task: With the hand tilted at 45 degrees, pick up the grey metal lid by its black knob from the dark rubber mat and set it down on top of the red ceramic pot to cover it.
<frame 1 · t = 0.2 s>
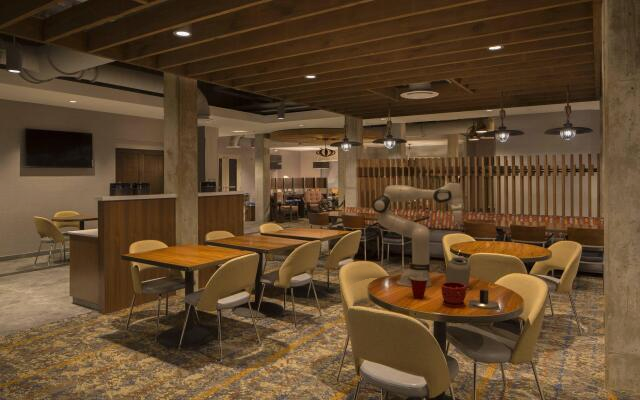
hand: (458, 227, 294), 39 cm above the table, tool pointing down, fingers open, 8 cm apart
lid: (483, 297, 253), on the mat
plant pot: (453, 306, 253), on the table
plastic cup: (418, 298, 270), on the table
mat: (483, 305, 253), on the table
jar: (458, 287, 294), on the table
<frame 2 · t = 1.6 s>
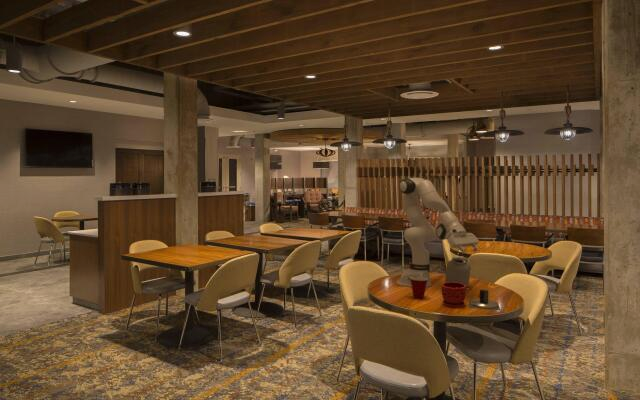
hand: (470, 251, 264), 28 cm above the table, tool tilted 45°, fingers open, 8 cm apart
nothing on the table moved.
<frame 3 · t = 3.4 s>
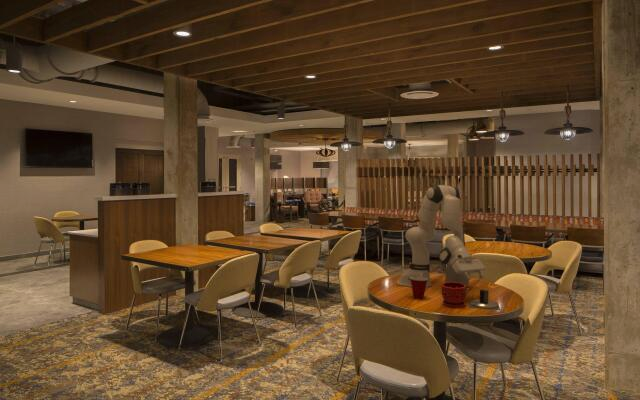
hand: (476, 278, 258), 14 cm above the table, tool tilted 45°, fingers open, 8 cm apart
nothing on the table moved.
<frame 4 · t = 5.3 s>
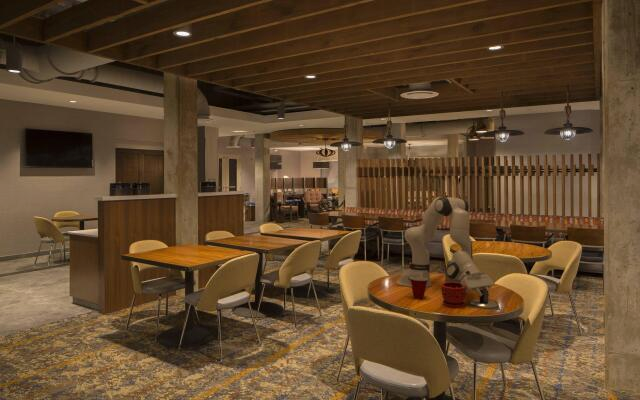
hand: (484, 295, 252), 6 cm above the table, tool tilted 45°, fingers closed on lid, 3 cm apart
lid: (483, 297, 253), on the mat, touching gripper
everything else where it was.
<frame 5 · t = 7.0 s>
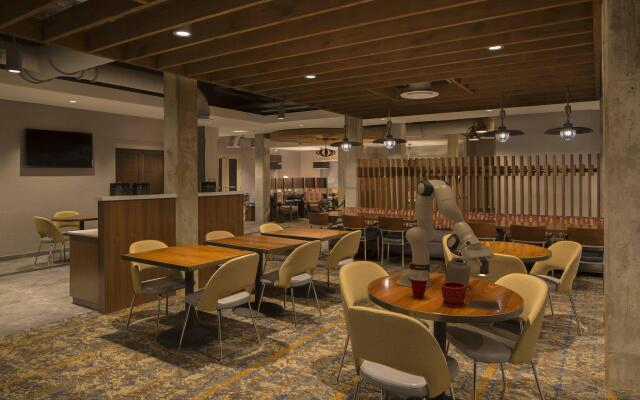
hand: (485, 265, 251), 23 cm above the table, tool tilted 45°, fingers closed on lid, 3 cm apart
lid: (484, 267, 252), point 21 cm above the table, touching gripper
everything else where it was.
when the fingers open (19 cm above the table, at t = 9.1 s): lid drops 2 cm, resting on plant pot.
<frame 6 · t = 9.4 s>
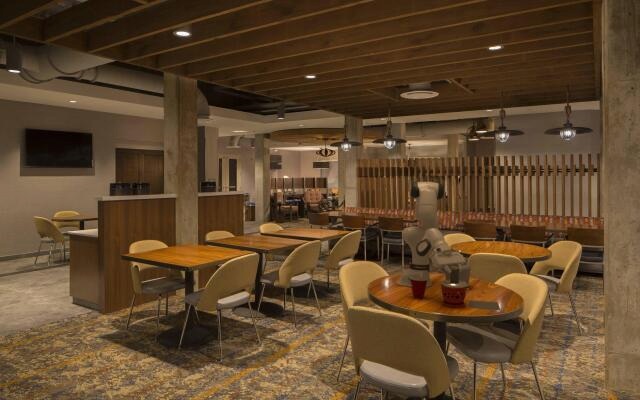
hand: (455, 272, 251), 19 cm above the table, tool tilted 45°, fingers open, 5 cm apart
lid: (454, 277, 252), point 16 cm above the table, touching plant pot
plant pot: (453, 306, 253), on the table, touching lid
everything else where it was.
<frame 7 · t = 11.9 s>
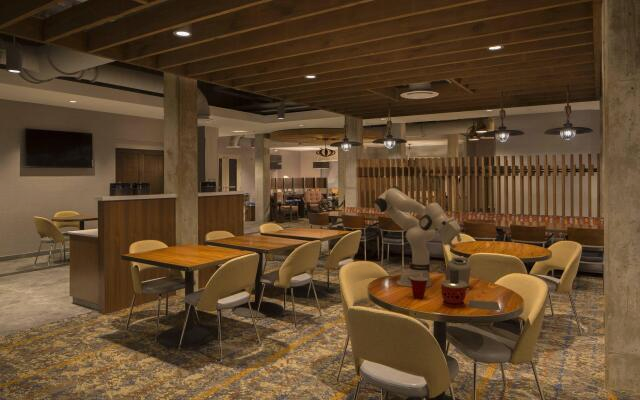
hand: (457, 244, 266), 32 cm above the table, tool tilted 40°, fingers open, 8 cm apart
nothing on the table moved.
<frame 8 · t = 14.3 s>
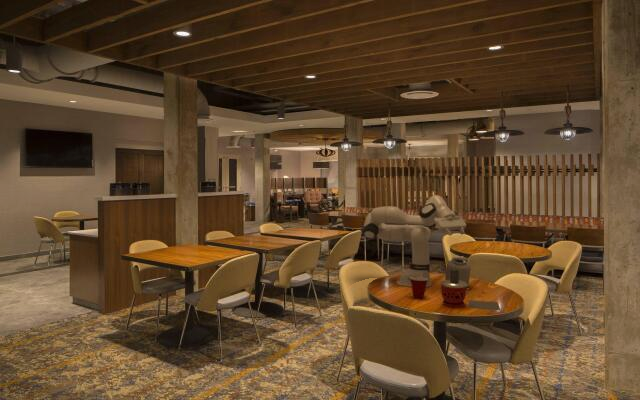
hand: (457, 234, 271), 37 cm above the table, tool tilted 45°, fingers open, 8 cm apart
nothing on the table moved.
at the end: lid inside the target area on the plant pot (0.7 cm from its centre), point 16.4 cm above the plant pot's base; lid tilted 0°; the gripper is holding nothing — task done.
